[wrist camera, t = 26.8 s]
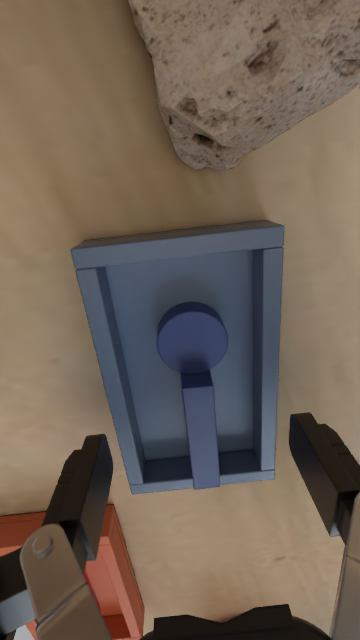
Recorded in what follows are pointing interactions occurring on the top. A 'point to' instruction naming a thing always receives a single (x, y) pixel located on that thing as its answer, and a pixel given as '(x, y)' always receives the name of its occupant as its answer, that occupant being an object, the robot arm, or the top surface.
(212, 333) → the blue bar with disc
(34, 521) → the terracotta tray
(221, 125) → the stone
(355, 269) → the top surface
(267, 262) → the blue tray
